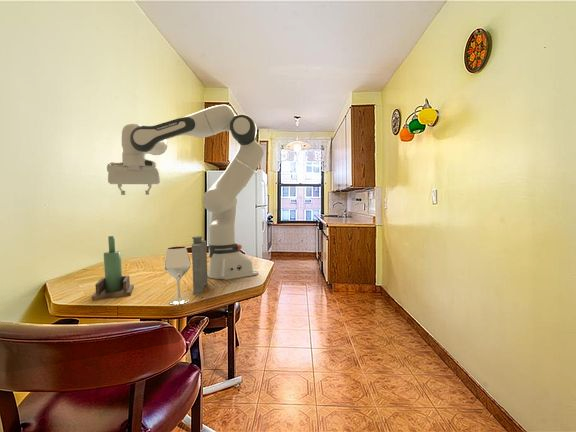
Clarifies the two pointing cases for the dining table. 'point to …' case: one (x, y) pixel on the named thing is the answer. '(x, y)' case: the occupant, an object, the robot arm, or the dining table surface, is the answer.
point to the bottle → (112, 267)
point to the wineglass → (177, 268)
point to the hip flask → (199, 264)
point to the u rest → (103, 294)
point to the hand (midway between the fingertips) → (135, 194)
